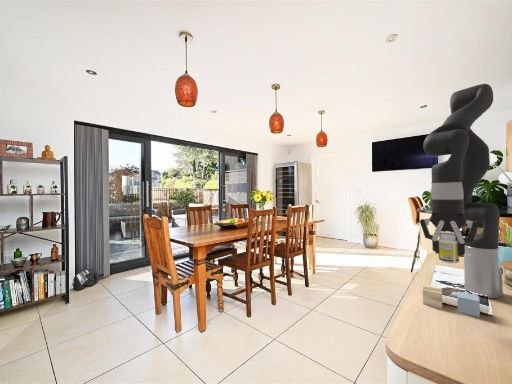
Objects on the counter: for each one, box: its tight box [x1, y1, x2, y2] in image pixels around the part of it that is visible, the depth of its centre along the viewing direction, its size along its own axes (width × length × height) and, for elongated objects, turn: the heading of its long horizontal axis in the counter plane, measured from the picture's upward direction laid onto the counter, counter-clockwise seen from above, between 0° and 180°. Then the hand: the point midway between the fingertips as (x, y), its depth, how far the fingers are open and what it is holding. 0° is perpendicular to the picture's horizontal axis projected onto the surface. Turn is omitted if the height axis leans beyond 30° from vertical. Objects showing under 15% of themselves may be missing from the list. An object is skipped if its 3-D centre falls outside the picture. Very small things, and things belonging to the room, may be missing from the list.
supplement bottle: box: [437, 231, 460, 264], centre depth 70 cm, size 5×5×8 cm
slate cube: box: [456, 290, 481, 318], centre depth 73 cm, size 5×5×5 cm
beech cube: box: [422, 284, 443, 309], centre depth 79 cm, size 5×5×5 cm
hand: (448, 253), depth 70 cm, fingers closed on supplement bottle, 4 cm apart
